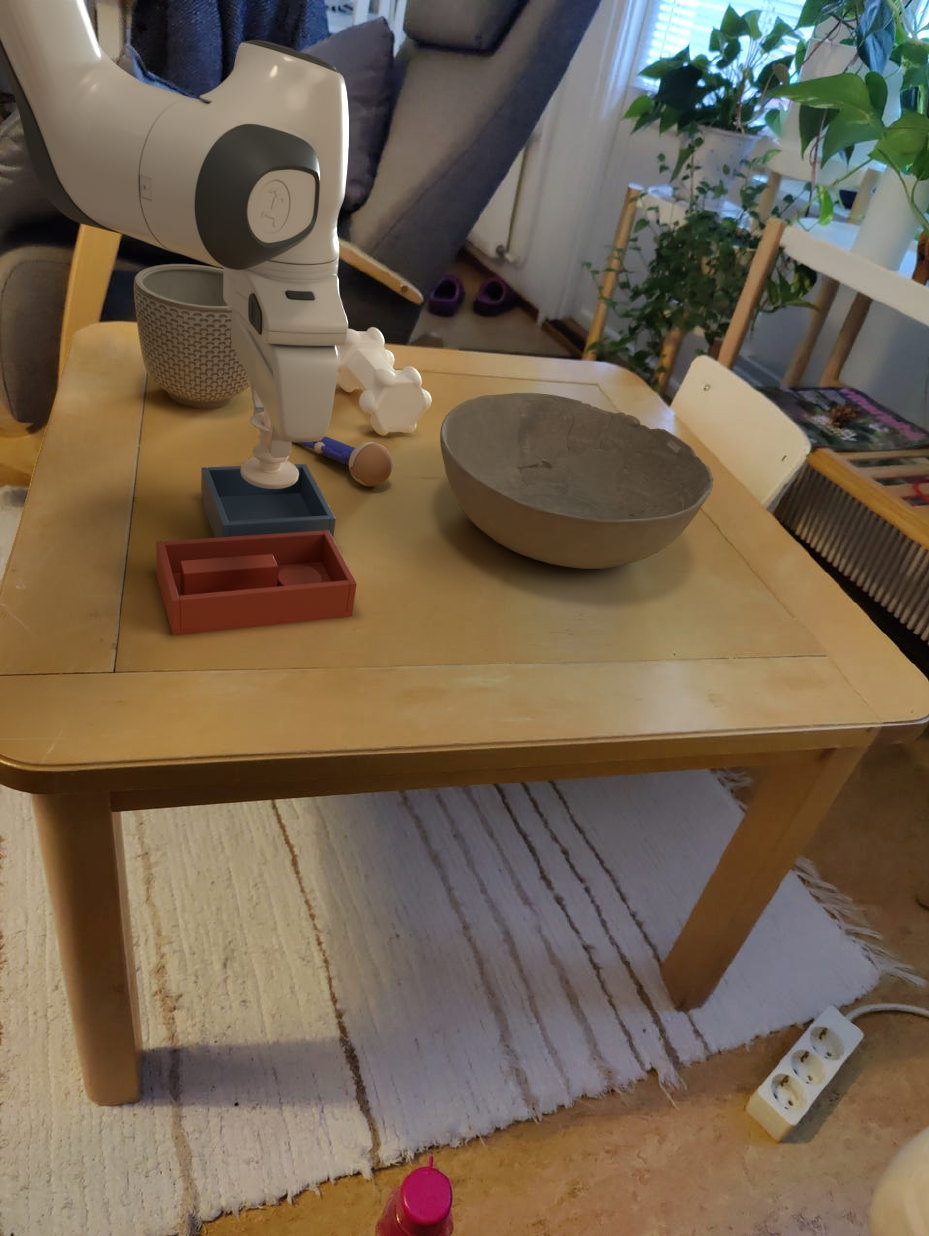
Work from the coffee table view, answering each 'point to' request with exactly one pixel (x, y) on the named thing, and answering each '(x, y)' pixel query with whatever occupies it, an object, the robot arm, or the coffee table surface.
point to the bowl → (570, 479)
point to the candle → (267, 461)
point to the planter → (188, 334)
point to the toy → (357, 459)
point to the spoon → (241, 574)
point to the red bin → (263, 602)
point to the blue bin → (262, 504)
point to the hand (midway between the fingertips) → (271, 439)
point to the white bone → (381, 383)
